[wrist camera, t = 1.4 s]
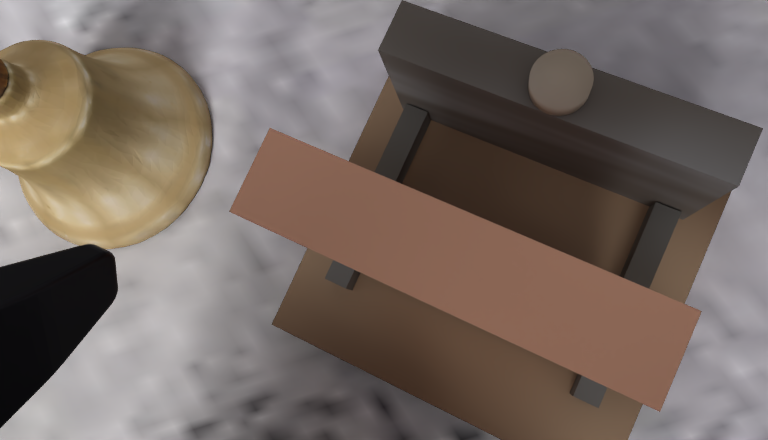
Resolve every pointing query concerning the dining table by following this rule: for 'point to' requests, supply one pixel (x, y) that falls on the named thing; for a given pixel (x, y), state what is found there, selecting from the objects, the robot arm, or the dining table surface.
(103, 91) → the hand bell
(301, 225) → the reddish brown rectangular bar
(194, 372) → the dining table surface
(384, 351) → the switch base
